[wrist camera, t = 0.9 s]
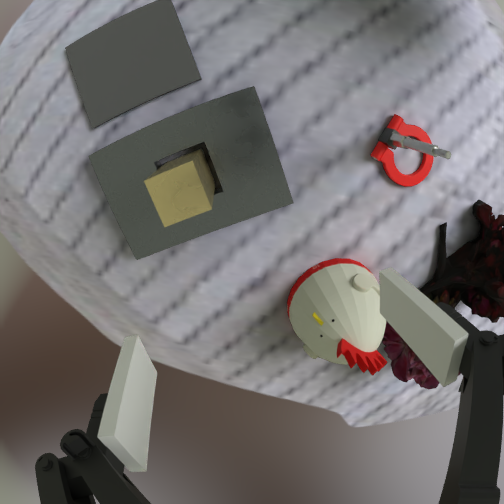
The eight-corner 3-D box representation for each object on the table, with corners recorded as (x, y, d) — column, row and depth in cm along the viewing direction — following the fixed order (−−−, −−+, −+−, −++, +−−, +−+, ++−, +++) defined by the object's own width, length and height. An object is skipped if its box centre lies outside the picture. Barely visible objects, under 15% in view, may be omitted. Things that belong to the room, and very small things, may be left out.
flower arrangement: (466, 182, 39) (536, 214, 26) (509, 245, 45) (561, 281, 31) (349, 335, 49) (383, 403, 35) (412, 366, 54) (445, 420, 41)
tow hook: (437, 147, 37) (394, 107, 34) (502, 169, 26) (461, 116, 23) (410, 195, 40) (364, 160, 37) (469, 230, 28) (423, 186, 25)
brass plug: (201, 148, 35) (192, 160, 25) (215, 183, 37) (212, 209, 27) (166, 162, 35) (143, 180, 25) (180, 196, 37) (164, 227, 27)
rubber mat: (169, -3, 26) (169, -5, 26) (201, 79, 31) (201, 78, 31) (67, 48, 27) (65, 47, 27) (94, 128, 32) (92, 128, 32)
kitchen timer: (321, 241, 41) (365, 304, 27) (391, 279, 45) (442, 340, 31) (269, 320, 46) (286, 399, 32) (340, 346, 49) (371, 415, 36)
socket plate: (252, 88, 32) (254, 86, 30) (289, 197, 38) (293, 203, 36) (96, 153, 34) (88, 156, 31) (141, 251, 39) (136, 260, 37)
